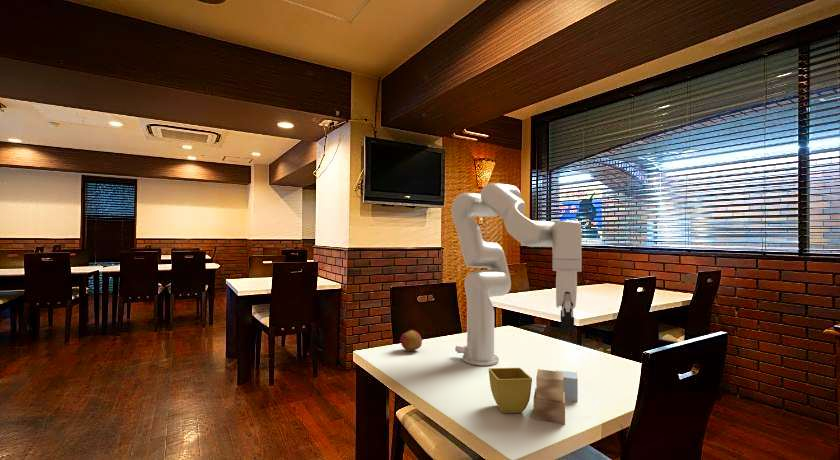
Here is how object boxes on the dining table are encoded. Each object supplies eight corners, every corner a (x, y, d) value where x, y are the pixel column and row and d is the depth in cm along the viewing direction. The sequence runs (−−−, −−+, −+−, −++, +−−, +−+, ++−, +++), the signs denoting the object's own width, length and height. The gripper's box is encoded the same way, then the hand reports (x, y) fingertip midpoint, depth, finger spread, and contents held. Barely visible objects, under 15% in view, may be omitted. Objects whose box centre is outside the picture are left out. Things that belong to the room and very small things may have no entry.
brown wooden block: (533, 419, 92) (533, 398, 92) (535, 408, 99) (535, 388, 99) (565, 424, 90) (565, 403, 90) (564, 412, 96) (564, 392, 96)
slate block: (555, 398, 104) (555, 376, 104) (555, 391, 109) (555, 370, 110) (577, 402, 102) (577, 378, 103) (576, 394, 108) (576, 372, 108)
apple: (411, 347, 154) (411, 326, 154) (425, 351, 148) (425, 330, 148) (396, 350, 148) (396, 329, 149) (410, 355, 142) (410, 333, 143)
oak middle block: (536, 398, 92) (536, 376, 92) (537, 389, 98) (537, 369, 98) (563, 402, 90) (563, 380, 90) (563, 392, 96) (563, 372, 96)
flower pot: (487, 402, 101) (488, 367, 102) (520, 401, 102) (520, 366, 102) (497, 417, 93) (497, 379, 93) (532, 416, 93) (533, 378, 94)
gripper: (552, 263, 116) (552, 321, 116) (552, 267, 100) (552, 333, 100) (579, 264, 114) (580, 323, 113) (583, 267, 98) (584, 336, 97)
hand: (567, 328), depth 107 cm, fingers open, 9 cm apart
